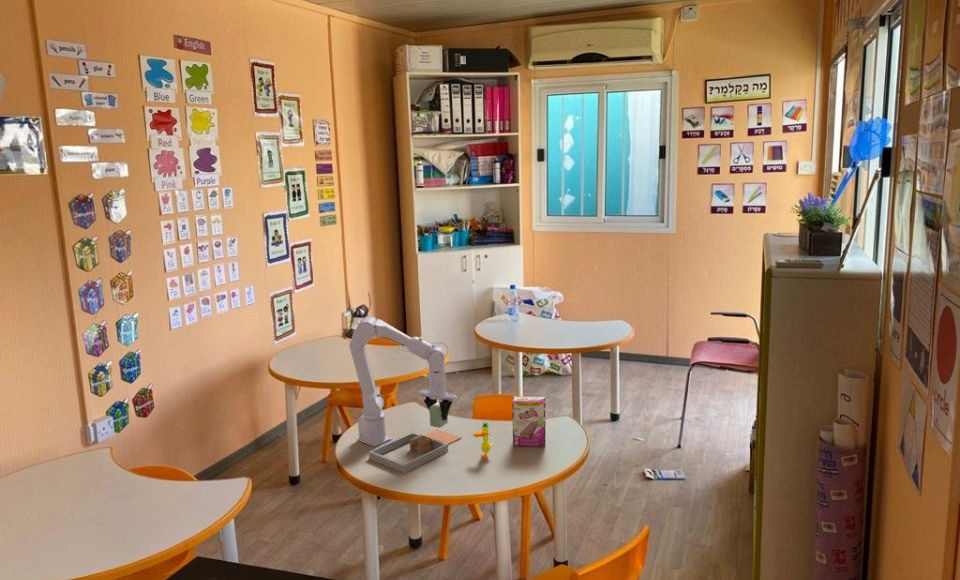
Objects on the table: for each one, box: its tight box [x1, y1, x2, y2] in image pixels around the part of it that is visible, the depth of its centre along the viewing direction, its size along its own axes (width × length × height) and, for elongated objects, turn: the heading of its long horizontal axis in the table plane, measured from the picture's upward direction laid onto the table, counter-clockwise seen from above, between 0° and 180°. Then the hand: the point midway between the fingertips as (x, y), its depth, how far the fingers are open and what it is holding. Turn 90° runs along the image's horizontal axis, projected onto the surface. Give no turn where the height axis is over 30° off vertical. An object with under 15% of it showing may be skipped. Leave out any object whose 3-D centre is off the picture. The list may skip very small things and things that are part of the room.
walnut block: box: [409, 434, 432, 455], centre depth 235 cm, size 5×5×4 cm
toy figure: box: [472, 421, 494, 459], centre depth 227 cm, size 7×4×12 cm, turn 100°
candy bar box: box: [512, 396, 547, 448], centre depth 235 cm, size 11×5×16 cm, turn 84°
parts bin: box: [368, 432, 449, 474], centre depth 231 cm, size 17×20×2 cm
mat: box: [423, 429, 462, 446], centre depth 244 cm, size 12×9×1 cm
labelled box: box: [428, 401, 449, 428], centre depth 242 cm, size 4×5×7 cm
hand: (439, 418), depth 242 cm, fingers closed on labelled box, 4 cm apart
